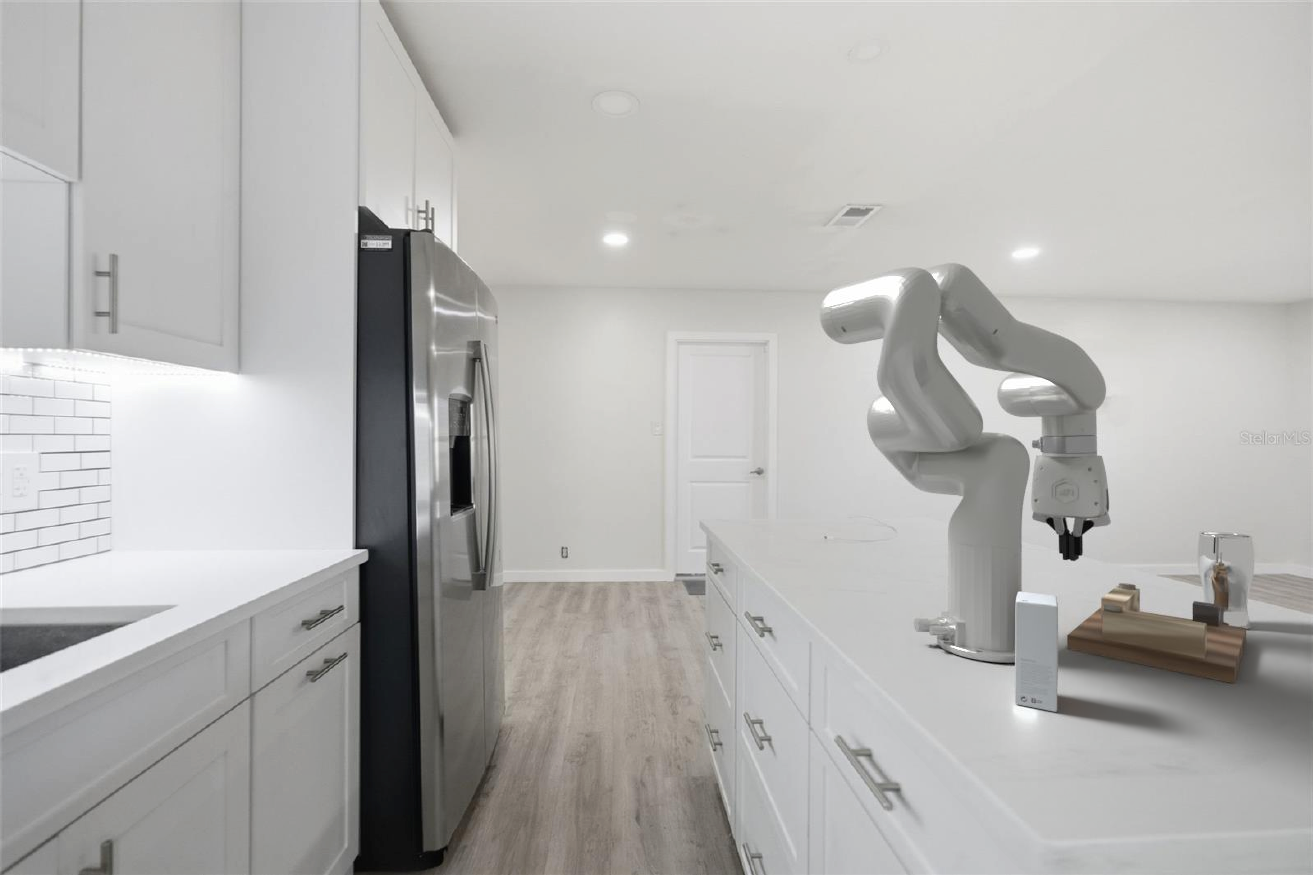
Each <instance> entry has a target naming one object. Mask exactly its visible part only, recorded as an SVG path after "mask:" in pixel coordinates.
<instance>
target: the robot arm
mask: <svg viewBox="0 0 1313 875" xmlns="http://www.w3.org/2000/svg"><path fill="white" fill-rule="evenodd" d="M819 309H820V310H819V320H820V324H821V327H822V329H823V331H824V333H825V334H826V335H827V336H828V337H829V338H830V339H831V340H832V341H834V342H836V343H839V344H842V345H843V344H844V345H854V344H859V343H865V342H870V341H876V340H882V346H881V352H880V357H879V361H878V365H877V370H876V382H877V385H878V388H879V391H880V392H881V393H880V394H879V395H877V397H875V399H874V400H873V401H872V402H871V404H870V405H869V407H868V410H867V415H866V424H867V431H868V434H869V436H870V439H871V442H872V444H873V445H874V446H875V447H876V449H877V450H878V451H879V452H880V453H881V454H882V456H883V457H885V459H886V460H887V461H888V462H889V463H890V464H891V465H892V467H894V468H895V470H897V471H898V472H899V474H900V475H902V477H904V479H905V480H906V481H907V482H908V483H909V484H910V485H912V486H914V487H915V488H916V489H918V490H919V491H922V492H924V493H931V494H936V495H937V494H938V495H950V496H959V497H962V499H961V500H960V502H959V504H958V506H957V507H956V509H954V512H953V513H952V515H951V517H950V519H949V522H948V528H947V541H948V544H947V545H948V546H947V547H948V548H947V551H948V553H947V554H948V555H947V556H948V558H947V561H948V562H947V565H948V566H947V568H948V569H947V571H948V572H947V573H948V576H947V577H948V578H947V579H948V580H947V582H948V583H947V585H948V588H947V591H948V592H947V595H948V596H947V597H948V598H947V603H948V606H947V608H948V609H947V611H941V616H937V617H935V619H929V618H914V621H913V625H914V626H913V628H914V630H915V632H916V633H917V632H918V633H929V635H930V636H936V643H937V645H938V646H939V648H942V649H944V650H945V651H947V652H949V653H951V654H954V655H957V656H960V657H963V658H968V659H972V660H977V661H984V662H990V663H1008V664H1010V663H1011V664H1013V663H1014V664H1015V607H1016V596H1017V594H1018V592H1019V591H1021V592H1023V591H1022V590H1023V583H1022V580H1023V579H1022V578H1023V577H1022V576H1023V574H1022V573H1023V572H1022V571H1023V570H1022V568H1023V566H1022V563H1023V562H1022V560H1023V558H1022V553H1023V550H1022V547H1023V546H1022V540H1023V539H1022V533H1023V532H1022V529H1023V527H1022V525H1023V522H1022V521H1023V508H1024V507H1023V506H1024V501H1025V500H1024V499H1025V496H1026V495H1025V494H1026V489H1027V484H1028V481H1029V475H1030V471H1031V460H1030V453H1029V452H1028V449H1027V447H1026V446H1025V445H1024V444H1023V443H1022V441H1020V440H1019V439H1017V438H1016V437H1013V436H1011V435H1009V434H1005V433H999V432H989V431H988V432H987V431H985V432H983V430H984V421H983V420H984V419H983V416H982V414H981V411H980V409H979V408H978V407H977V405H976V403H975V402H974V400H973V399H972V397H971V396H970V395H969V394H968V393H967V391H966V390H965V389H964V388H963V386H962V385H961V384H960V382H959V381H958V380H957V379H956V378H955V376H954V375H953V374H952V373H951V372H950V371H949V370H950V369H948V368H947V366H946V365H945V364H944V362H943V361H942V358H941V357H940V355H939V349H938V336H939V335H940V336H942V337H943V338H944V340H946V341H947V342H948V343H949V344H950V346H952V347H953V349H955V350H956V352H958V354H959V355H961V356H962V358H964V359H965V360H966V362H968V363H970V364H971V365H974V366H977V367H979V368H980V367H981V368H985V369H989V370H994V371H999V372H1000V371H1001V372H1008V373H1010V374H1009V375H1008V376H1006V377H1005V378H1003V379H1002V380H1001V382H1000V383H999V386H998V387H997V393H996V394H997V401H998V403H999V406H1000V407H1001V408H1002V409H1003V411H1004V412H1006V413H1008V414H1010V415H1012V416H1014V417H1020V418H1041V436H1040V438H1039V439H1037V440H1036V439H1035V440H1032V441H1031V447H1032V449H1038V450H1039V451H1040V453H1041V455H1040V454H1039V455H1036V456H1035V460H1034V465H1033V472H1032V483H1031V496H1030V497H1031V498H1030V500H1031V501H1030V503H1031V504H1030V506H1031V511H1032V512H1033V513H1032V516H1031V517H1032V520H1034V521H1036V522H1039V523H1044V524H1046V525H1048V526H1049V527H1050V528H1052V530H1053V531H1055V534H1056V535H1058V553H1059V554H1060V555H1061V554H1062V560H1063V561H1068V560H1070V561H1071V562H1076V561H1077V560H1078V559H1079V558H1080V557H1081V556H1083V553H1084V552H1083V550H1084V549H1083V546H1084V545H1083V544H1084V543H1083V542H1084V540H1083V535H1085V534H1086V533H1087V532H1088V531H1090V530H1091V529H1093V528H1098V527H1099V528H1100V527H1105V526H1108V525H1110V524H1111V522H1112V521H1111V518H1110V514H1109V511H1110V510H1109V509H1110V496H1109V485H1108V478H1107V472H1106V471H1107V470H1106V468H1105V467H1106V466H1105V462H1104V458H1103V456H1102V455H1098V436H1097V428H1098V427H1097V424H1098V423H1097V410H1098V409H1100V407H1101V406H1102V404H1104V401H1105V398H1106V396H1107V395H1106V394H1107V385H1106V381H1105V379H1104V376H1103V373H1102V371H1101V370H1100V369H1099V367H1098V365H1096V363H1095V362H1094V361H1093V359H1092V358H1091V357H1090V356H1089V355H1088V353H1087V352H1086V351H1085V350H1084V349H1083V348H1082V347H1081V346H1080V345H1079V344H1077V343H1076V342H1074V341H1073V340H1070V339H1068V338H1066V337H1064V336H1062V335H1059V334H1057V333H1054V332H1051V331H1048V330H1046V329H1043V328H1041V327H1038V326H1036V325H1033V324H1029V323H1026V322H1022V321H1020V320H1017V319H1016V318H1015V316H1013V314H1011V312H1010V311H1009V310H1008V309H1007V308H1006V307H1005V306H1004V305H1003V304H1002V302H1001V301H1000V300H999V299H998V298H997V297H996V296H995V294H994V293H993V292H992V291H991V290H990V289H989V288H988V287H987V286H986V284H985V283H984V282H983V281H982V280H981V278H979V277H978V276H977V274H975V272H974V271H973V270H971V269H970V268H968V267H967V266H966V265H964V264H961V263H956V262H955V263H954V262H950V263H949V262H948V263H942V264H938V265H934V266H930V267H926V268H921V267H901V268H896V269H892V270H888V271H884V272H882V273H878V274H875V275H873V276H868V277H865V278H862V279H859V280H856V281H852V282H849V283H845V284H842V285H839V286H837V287H835V288H833V289H832V290H830V292H828V293H827V295H826V296H825V297H824V298H823V301H822V302H821V305H820V308H819ZM938 334H939V335H938ZM1067 518H1069V519H1074V520H1073V522H1074V523H1073V528H1072V531H1070V530H1069V524H1068V521H1067V520H1068V519H1067Z"/></svg>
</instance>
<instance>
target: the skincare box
mask: <svg viewBox="0 0 1313 875" xmlns="http://www.w3.org/2000/svg"><path fill="white" fill-rule="evenodd" d="M1058 667H1059V604H1058V598H1057V596H1056V595H1052V594H1043V593H1035V592H1028V591H1027V592H1026V591H1022V592H1021V591H1019V592H1018V594H1017V596H1016V607H1015V663H1014V704H1015V705H1018V706H1024V707H1028V708H1034V709H1038V710H1044V711H1049V712H1054V713H1055V712H1058V678H1059V676H1058V675H1059V668H1058Z"/></svg>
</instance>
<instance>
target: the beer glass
mask: <svg viewBox="0 0 1313 875" xmlns="http://www.w3.org/2000/svg"><path fill="white" fill-rule="evenodd" d="M1198 534H1199V536H1198V546H1197V567H1198V574H1199V578H1200V582H1201V583H1200V584H1201V587H1202V592H1203V598H1204V603H1211V604H1218V605H1220V624H1223V625H1230V626H1236V627H1242V628H1246V631H1247V630H1249V629H1251V625H1252V624H1251V622H1250V621H1251V620H1250V617H1249V613H1248V612H1249V611H1248V600H1249V596H1250V591H1251V587H1252V583H1253V578H1254V572H1255V552H1254V544H1253V536H1252V535H1249V534H1243V533H1237V532H1236V533H1235V532H1223V531H1221V532H1220V531H1200V532H1199V533H1198Z"/></svg>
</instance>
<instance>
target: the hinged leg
mask: <svg viewBox="0 0 1313 875" xmlns="http://www.w3.org/2000/svg"><path fill="white" fill-rule="evenodd" d="M1136 586H1137V585H1136V584H1133V583H1125V582H1120V583H1118V585H1116V586H1115V587H1114V588H1113V589H1111V590H1110V591H1108V592H1107V593H1106V594H1104V596H1101V605H1100V606H1101V607H1100V608H1101V624H1102V611H1103V610H1104V605H1116V606H1120V607H1123V610H1126V611H1132V612H1138V613H1140V610H1141V609H1140V608H1141V606H1140V605H1141V603H1140V602H1141V598H1140V597H1141V596H1140V595H1141V593H1140V592H1141V591H1140V590H1141V589H1140V588H1137V587H1136Z"/></svg>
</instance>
